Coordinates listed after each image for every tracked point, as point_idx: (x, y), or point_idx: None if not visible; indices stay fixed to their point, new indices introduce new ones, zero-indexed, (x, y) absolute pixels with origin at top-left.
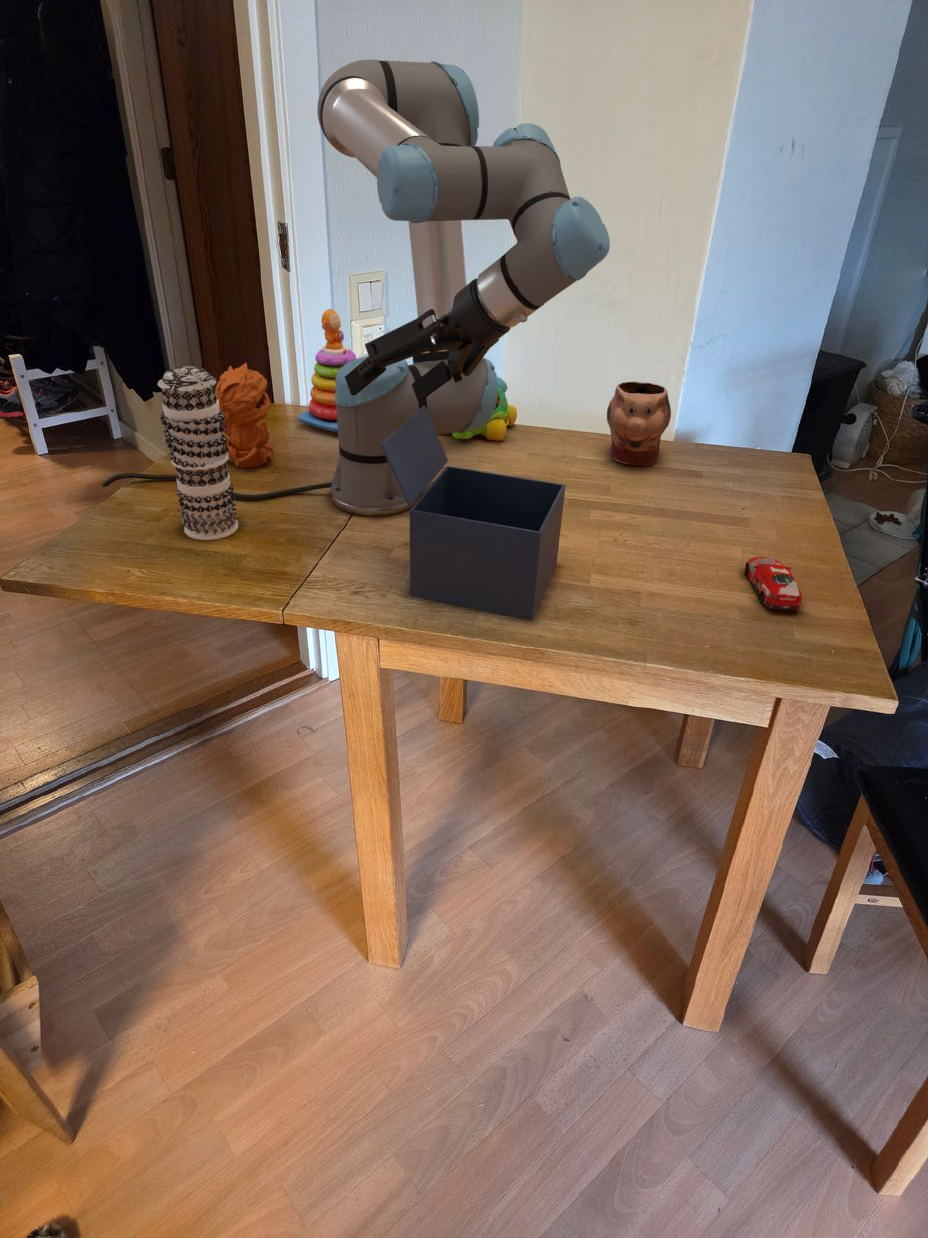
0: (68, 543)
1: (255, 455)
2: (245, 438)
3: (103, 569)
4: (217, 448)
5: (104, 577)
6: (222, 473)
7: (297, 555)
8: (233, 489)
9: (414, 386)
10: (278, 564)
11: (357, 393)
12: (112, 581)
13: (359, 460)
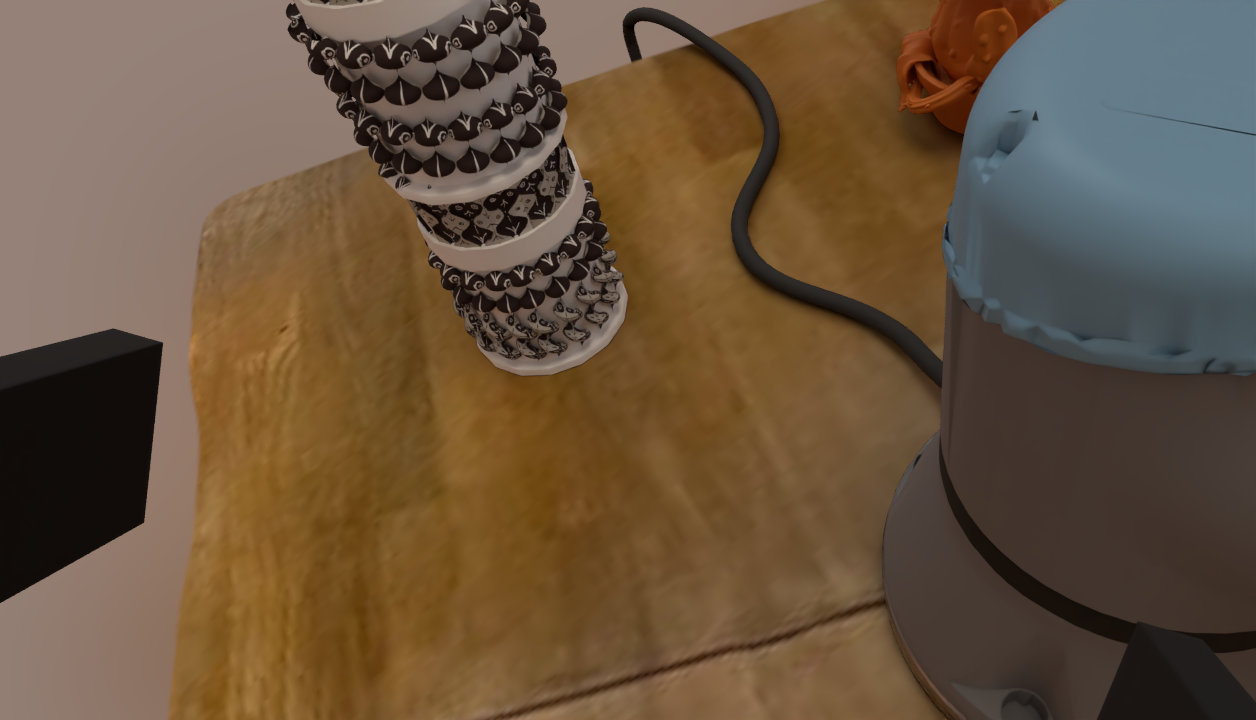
0: (363, 165)
1: (962, 106)
2: (954, 37)
3: (278, 287)
4: (443, 148)
5: (246, 314)
6: (481, 224)
7: (498, 626)
8: (550, 272)
9: (1131, 680)
10: (422, 611)
11: (112, 538)
12: (233, 338)
13: (948, 493)
